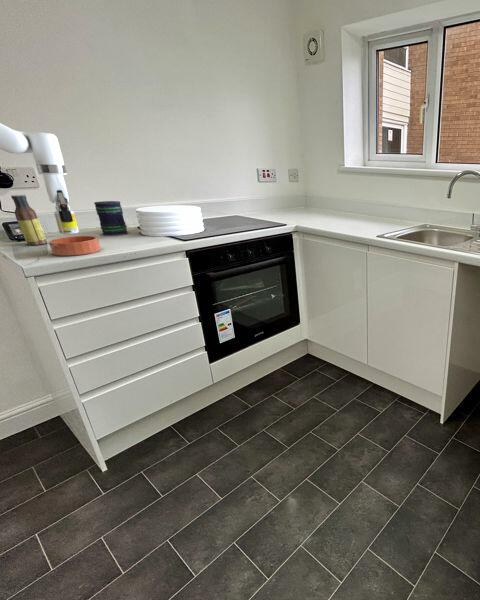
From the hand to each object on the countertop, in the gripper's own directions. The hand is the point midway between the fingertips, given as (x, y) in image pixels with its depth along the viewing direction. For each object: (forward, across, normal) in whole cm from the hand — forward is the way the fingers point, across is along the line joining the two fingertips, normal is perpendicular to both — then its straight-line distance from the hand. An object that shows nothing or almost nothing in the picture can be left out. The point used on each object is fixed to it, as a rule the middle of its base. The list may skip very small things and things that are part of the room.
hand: (66, 220), depth 132 cm
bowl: (+12, 0, +1) cm, 12 cm away
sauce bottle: (+13, -26, -9) cm, 30 cm away
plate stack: (+12, -26, +42) cm, 51 cm away
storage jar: (+12, -34, +19) cm, 41 cm away
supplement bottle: (+5, 0, 0) cm, 5 cm away
